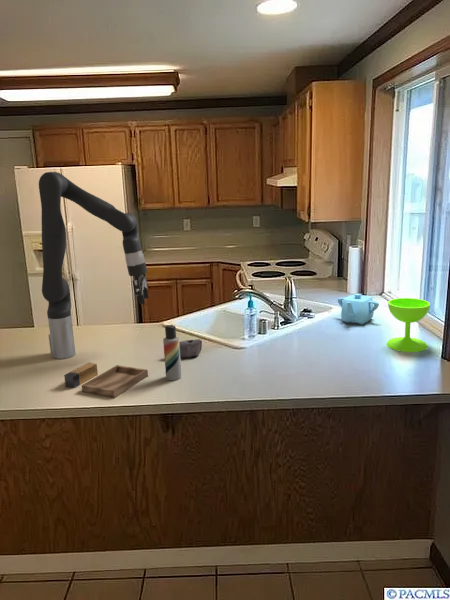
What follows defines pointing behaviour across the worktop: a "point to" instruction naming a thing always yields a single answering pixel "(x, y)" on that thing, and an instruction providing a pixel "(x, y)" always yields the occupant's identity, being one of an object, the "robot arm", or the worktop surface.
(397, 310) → the wineglass
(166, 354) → the lotion bottle
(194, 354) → the perforated stone tool
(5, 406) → the worktop surface
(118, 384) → the brown wooden tray
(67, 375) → the battery cell
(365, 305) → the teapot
